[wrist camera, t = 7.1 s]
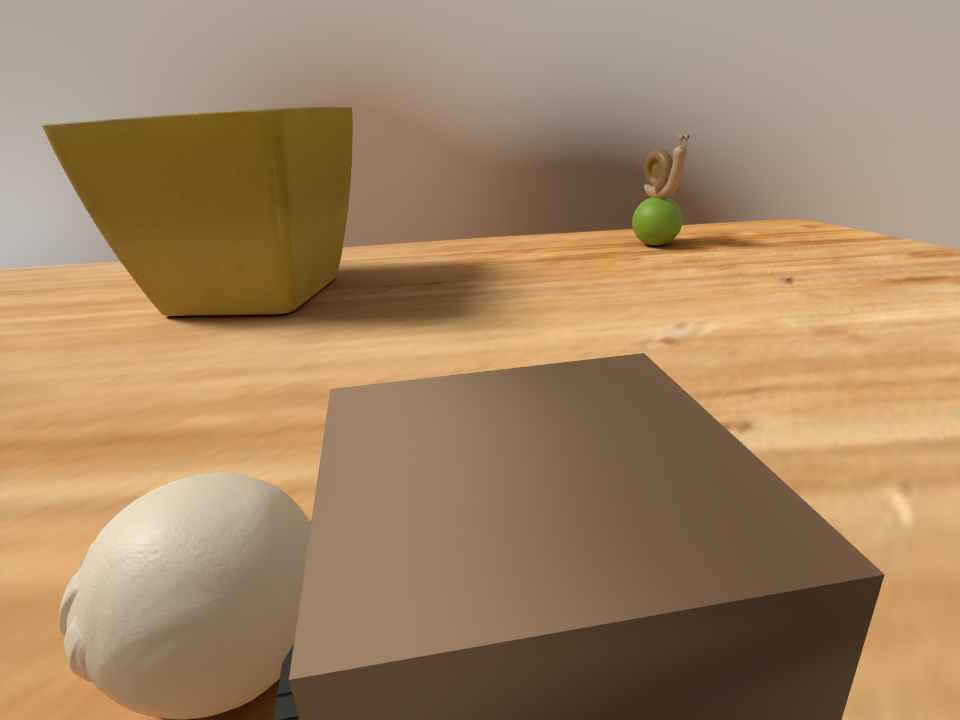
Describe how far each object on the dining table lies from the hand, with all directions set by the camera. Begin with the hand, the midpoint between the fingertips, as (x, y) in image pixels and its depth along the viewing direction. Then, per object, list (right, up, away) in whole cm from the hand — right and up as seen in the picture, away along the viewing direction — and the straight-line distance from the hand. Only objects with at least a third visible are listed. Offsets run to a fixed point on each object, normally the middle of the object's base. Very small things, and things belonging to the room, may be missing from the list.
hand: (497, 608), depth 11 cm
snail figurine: (+20, +17, +57) cm, 63 cm away
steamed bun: (-9, -6, +9) cm, 14 cm away
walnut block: (+1, -7, 0) cm, 7 cm away
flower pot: (-22, +11, +48) cm, 54 cm away
